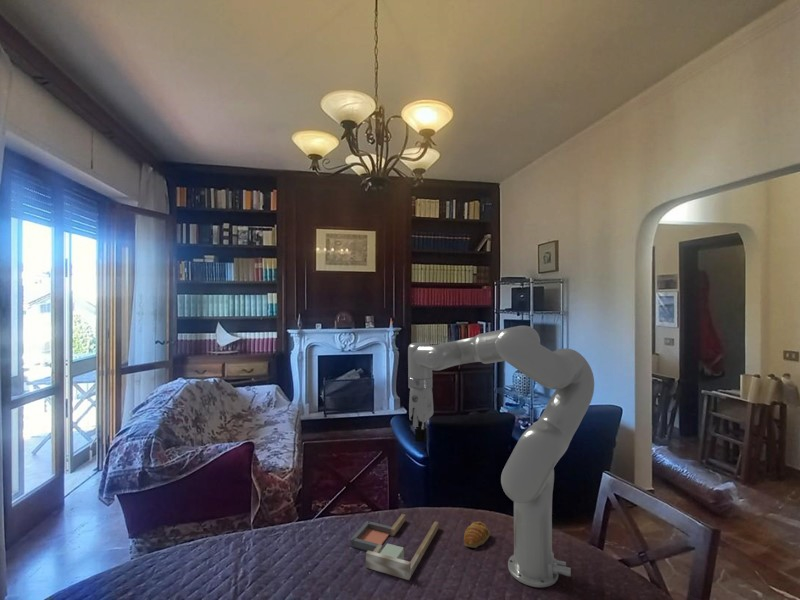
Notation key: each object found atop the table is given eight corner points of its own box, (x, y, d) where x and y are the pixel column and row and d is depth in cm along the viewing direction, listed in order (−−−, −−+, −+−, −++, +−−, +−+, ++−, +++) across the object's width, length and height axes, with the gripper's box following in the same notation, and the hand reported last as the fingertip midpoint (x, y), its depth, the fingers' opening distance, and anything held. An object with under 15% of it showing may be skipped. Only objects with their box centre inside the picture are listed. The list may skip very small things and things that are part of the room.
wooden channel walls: (438, 528, 126) (438, 515, 126) (408, 580, 104) (408, 564, 104) (402, 520, 131) (401, 507, 131) (366, 567, 109) (365, 552, 109)
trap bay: (392, 533, 124) (391, 526, 124) (376, 553, 115) (376, 546, 115) (367, 527, 128) (367, 520, 128) (350, 546, 118) (350, 539, 118)
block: (403, 562, 111) (403, 547, 111) (396, 573, 107) (396, 558, 106) (387, 557, 113) (387, 543, 113) (379, 568, 109) (379, 554, 108)
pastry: (480, 553, 115) (479, 539, 115) (458, 545, 118) (457, 532, 118) (491, 536, 123) (491, 523, 122) (470, 529, 126) (470, 517, 126)
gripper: (423, 388, 118) (424, 451, 119) (439, 378, 132) (439, 434, 132) (399, 386, 121) (400, 447, 122) (417, 377, 135) (418, 431, 135)
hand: (420, 440), depth 127 cm, fingers closed
